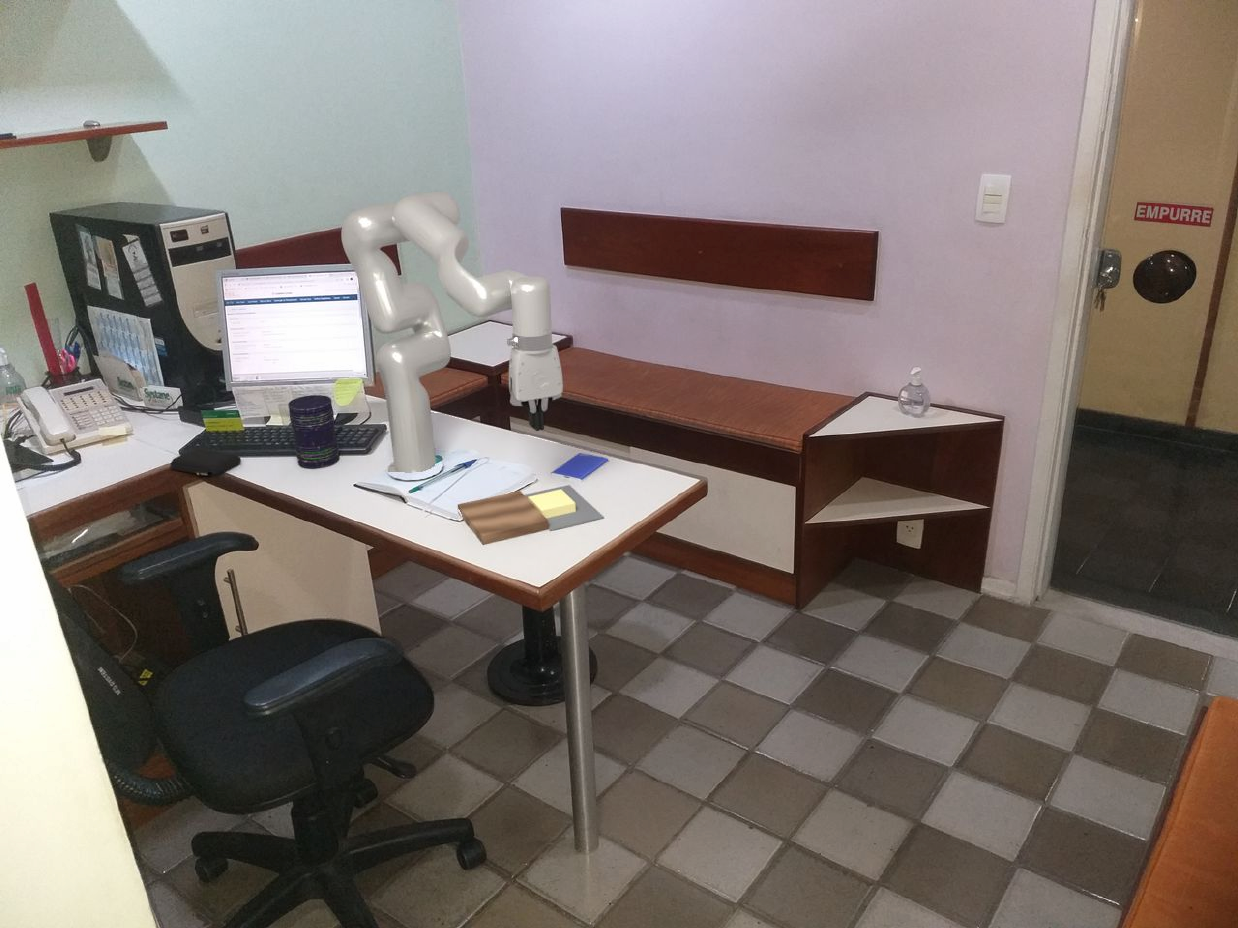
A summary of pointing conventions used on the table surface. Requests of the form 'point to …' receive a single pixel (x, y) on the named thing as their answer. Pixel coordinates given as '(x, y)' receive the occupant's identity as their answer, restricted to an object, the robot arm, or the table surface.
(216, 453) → the carrying case or bag
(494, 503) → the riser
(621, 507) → the table surface
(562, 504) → the sticky pad
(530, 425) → the robot arm
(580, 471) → the hard drive
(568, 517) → the mat
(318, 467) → the storage jar
